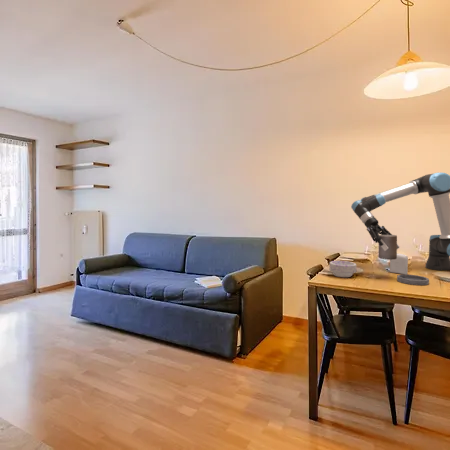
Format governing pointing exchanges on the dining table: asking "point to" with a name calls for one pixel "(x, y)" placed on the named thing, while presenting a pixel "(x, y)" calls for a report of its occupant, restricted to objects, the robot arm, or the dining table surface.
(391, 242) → the pillar candle
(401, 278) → the candle dish
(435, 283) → the dining table surface
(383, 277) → the dining table surface
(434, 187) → the robot arm
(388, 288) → the dining table surface
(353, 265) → the paper bowls
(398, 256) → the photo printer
